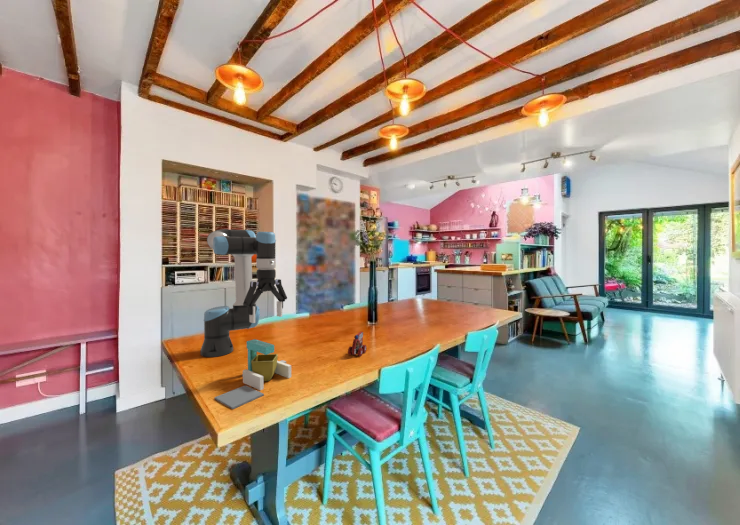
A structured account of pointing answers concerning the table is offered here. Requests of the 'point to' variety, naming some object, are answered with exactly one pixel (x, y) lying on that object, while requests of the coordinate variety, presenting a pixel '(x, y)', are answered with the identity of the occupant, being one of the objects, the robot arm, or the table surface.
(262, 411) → the table surface
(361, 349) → the toy fire truck
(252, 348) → the gate
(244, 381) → the white bars
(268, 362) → the flower pot
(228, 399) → the mat
